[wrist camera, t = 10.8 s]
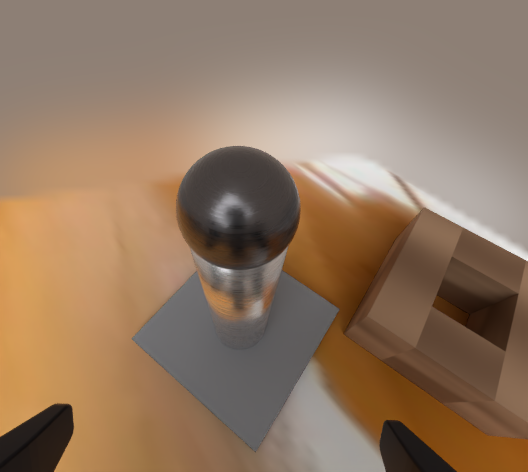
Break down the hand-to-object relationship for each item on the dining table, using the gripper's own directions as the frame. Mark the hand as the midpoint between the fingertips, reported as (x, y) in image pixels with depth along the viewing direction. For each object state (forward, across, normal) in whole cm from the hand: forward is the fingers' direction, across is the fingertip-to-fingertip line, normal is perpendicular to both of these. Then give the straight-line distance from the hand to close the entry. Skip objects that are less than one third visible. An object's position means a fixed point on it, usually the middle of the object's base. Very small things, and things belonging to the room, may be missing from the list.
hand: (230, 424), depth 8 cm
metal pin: (+9, 0, +2) cm, 9 cm away
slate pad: (+9, 0, +2) cm, 10 cm away
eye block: (+10, -13, +2) cm, 16 cm away
